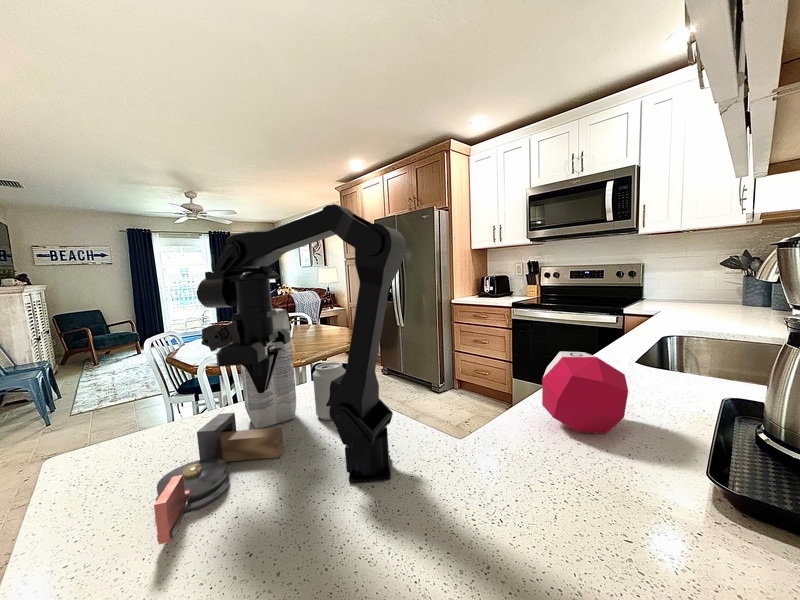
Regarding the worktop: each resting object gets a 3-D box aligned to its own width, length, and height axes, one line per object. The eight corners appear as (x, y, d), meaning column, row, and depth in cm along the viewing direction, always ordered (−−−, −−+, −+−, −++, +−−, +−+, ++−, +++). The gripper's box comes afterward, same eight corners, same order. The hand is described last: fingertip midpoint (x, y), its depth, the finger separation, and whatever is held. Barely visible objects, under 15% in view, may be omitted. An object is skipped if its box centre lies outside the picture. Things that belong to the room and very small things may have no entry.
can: (335, 406, 83) (331, 359, 82) (355, 412, 78) (351, 362, 77) (309, 417, 77) (305, 366, 76) (330, 424, 72) (325, 370, 71)
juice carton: (300, 419, 76) (290, 302, 74) (251, 433, 70) (239, 307, 68) (289, 407, 83) (280, 301, 82) (244, 420, 78) (233, 306, 76)
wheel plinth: (240, 472, 56) (239, 466, 56) (210, 512, 46) (209, 505, 46) (182, 477, 55) (181, 471, 55) (139, 518, 46) (138, 511, 46)
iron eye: (238, 447, 64) (234, 412, 64) (218, 469, 57) (214, 430, 57) (222, 448, 64) (218, 413, 64) (201, 471, 57) (196, 431, 56)
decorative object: (565, 365, 55) (548, 330, 69) (535, 434, 61) (525, 389, 75) (660, 391, 53) (623, 350, 67) (621, 461, 58) (594, 409, 72)
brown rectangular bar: (283, 447, 63) (282, 427, 63) (277, 457, 59) (275, 435, 59) (211, 453, 62) (209, 433, 62) (201, 463, 59) (199, 442, 59)
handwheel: (206, 532, 41) (202, 494, 41) (119, 554, 38) (114, 513, 38) (232, 465, 56) (229, 436, 56) (171, 477, 54) (168, 447, 53)
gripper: (232, 305, 68) (239, 379, 69) (175, 315, 49) (187, 416, 50) (287, 301, 68) (293, 375, 69) (251, 309, 50) (261, 410, 51)
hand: (262, 391), depth 60 cm, fingers closed
